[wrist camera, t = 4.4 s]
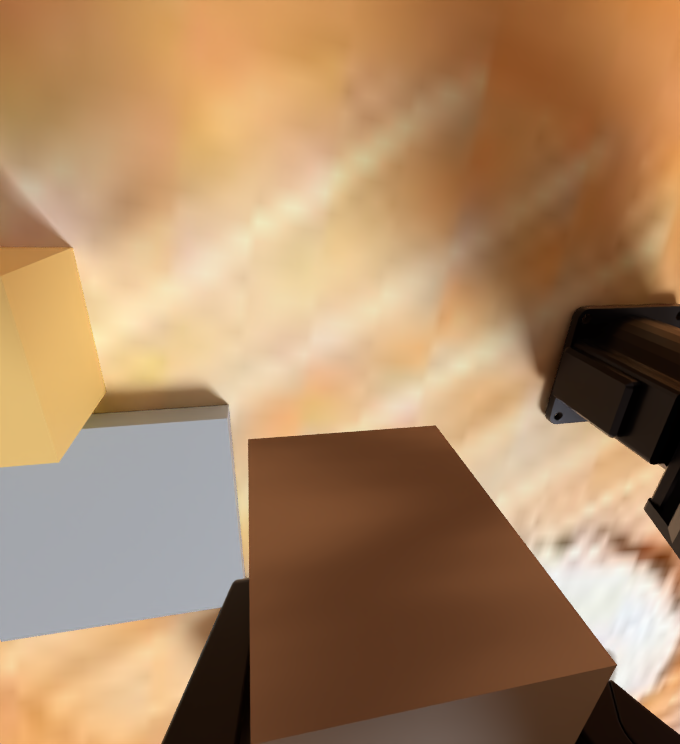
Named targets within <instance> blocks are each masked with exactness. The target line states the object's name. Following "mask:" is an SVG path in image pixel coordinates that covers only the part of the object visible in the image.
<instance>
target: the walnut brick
mask: <svg viewBox="0 0 680 744" xmlns="http://www.w3.org/2000/svg"><path fill="white" fill-rule="evenodd" d="M248 467H249V598H250V728H251V744H575V742H576V740H577V739H578V737H579V735H580V733H581V731H582V729H583V727H584V725H585V724H586V722H587V720H588V718H589V716H590V714H591V712H592V711H593V709H594V707H595V705H596V703H597V701H598V699H599V697H600V696H601V694H602V692H603V690H604V688H605V686H606V684H607V682H608V681H609V679H610V677H611V675H612V673H613V671H614V669H615V668H616V666H617V664H616V663H615V662H614V660H613V659H612V658H611V656H610V655H609V654H608V652H607V651H606V650H605V649H604V647H603V646H602V645H601V643H600V642H599V641H598V639H597V638H596V637H595V635H594V634H593V633H592V631H591V630H590V629H589V627H588V626H587V625H586V623H585V622H584V621H583V619H582V618H581V617H580V616H579V614H578V613H577V612H576V610H575V609H574V608H573V606H572V605H571V604H570V602H569V601H568V600H567V598H566V597H565V596H564V594H563V593H562V592H561V590H560V589H559V588H558V586H557V585H556V584H555V583H554V581H553V580H552V579H551V577H550V576H549V575H548V573H547V572H546V571H545V569H544V568H543V567H542V565H541V564H540V563H539V561H538V560H537V559H536V557H535V556H534V555H533V553H532V552H531V551H530V550H529V548H528V547H527V546H526V544H525V543H524V542H523V540H522V539H521V538H520V536H519V535H518V534H517V532H516V531H515V530H514V528H513V527H512V526H511V524H510V523H509V522H508V520H507V519H506V518H505V516H504V515H503V514H502V513H501V511H500V510H499V509H498V507H497V506H496V505H495V503H494V502H493V501H492V499H491V498H490V497H489V495H488V494H487V493H486V491H485V490H484V489H483V487H482V486H481V485H480V483H479V482H478V481H477V480H476V478H475V477H474V476H473V474H472V473H471V472H470V470H469V469H468V468H467V466H466V465H465V464H464V462H463V461H462V460H461V458H460V457H459V456H458V454H457V453H456V452H455V450H454V449H453V448H452V447H451V445H450V444H449V443H448V441H447V440H446V439H445V437H444V436H443V435H442V433H441V432H440V431H439V429H438V428H437V427H436V426H423V427H410V428H396V429H383V430H369V431H356V432H342V433H329V434H315V435H302V436H288V437H274V438H261V439H248Z"/></svg>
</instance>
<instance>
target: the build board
mask: <svg viewBox="0 0 680 744" xmlns="http://www.w3.org/2000/svg"><path fill="white" fill-rule="evenodd" d="M244 578H245V570H244V560H243V550H242V539H241V529H240V518H239V508H238V498H237V487H236V477H235V466H234V456H233V446H232V435H231V425H230V415H229V405H219V406H204V407H189V408H175V409H160V410H145V411H130V412H116V413H101V414H91V416H90V417H89V419H88V420H87V421H86V423H85V424H84V426H83V427H82V429H81V430H80V432H79V433H78V435H77V436H76V438H75V439H74V441H73V442H72V444H71V445H70V447H69V448H68V450H67V451H66V453H65V454H64V456H63V457H62V459H61V460H60V462H59V463H48V464H36V465H24V466H12V467H0V640H1V642H2V641H9V640H15V639H21V638H28V637H34V636H41V635H47V634H54V633H60V632H66V631H73V630H79V629H86V628H92V627H99V626H105V625H111V624H118V623H124V622H131V621H137V620H144V619H150V618H156V617H163V616H169V615H176V614H182V613H188V612H195V611H201V610H208V609H214V608H221V607H222V605H223V603H224V601H225V598H226V596H227V594H228V592H229V589H230V587H231V585H232V583H233V582H234V581H235V580H237V579H244Z"/></svg>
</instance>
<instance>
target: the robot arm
mask: <svg viewBox="0 0 680 744" xmlns="http://www.w3.org/2000/svg"><path fill="white" fill-rule="evenodd" d="M585 315H586V317H585V318H584V320H582V319H583V317H584V316H585ZM555 414H556V415H555ZM545 416H546V419H548V420H549V421H550V422H551V423H553V424H563V423H574V422H585V421H588V422H590V423H591V424H592V425H594V426H595V427H597V428H598V429H599V430H601V431H602V432H603V433H605V434H606V435H608V436H609V437H611V438H615V439H617V440H618V441H619V442H621V443H622V444H624V445H625V446H626V447H628V448H629V449H630V450H632V451H633V452H635V453H636V454H637V455H639V456H640V457H642V458H643V459H644V460H646V461H647V462H649V463H650V464H653V465H655V464H658V465H660V466H661V467H663V468H664V469H666V470H665V472H664V474H663V476H662V478H661V480H660V482H659V484H658V486H657V488H656V490H655V492H654V494H653V496H652V498H649V499H648V501H647V503H646V505H645V507H644V510H645V512H646V513H647V514H648V516H649V517H650V518H651V520H652V521H653V523H654V524H655V525H656V527H657V528H658V530H659V531H660V532H661V534H662V535H663V536H664V538H665V539H666V541H667V542H668V543H669V545H670V546H671V548H672V549H673V550H674V552H675V553H676V555H677V556H678V557H679V559H680V304H656V305H622V306H588V307H580V308H579V309H577V310H576V311H575V312H574V314H573V316H572V319H571V323H570V327H569V330H568V334H567V338H566V341H565V345H564V348H563V352H562V356H561V359H560V363H559V367H558V370H557V374H556V377H555V381H554V385H553V388H552V392H551V396H550V399H549V403H548V406H547V410H546V415H545ZM161 744H251V728H250V598H249V578H244V579H237V580H235V581H234V582H233V583H232V585H231V587H230V589H229V592H228V594H227V596H226V598H225V601H224V603H223V605H222V607H221V610H220V612H219V614H218V616H217V619H216V621H215V623H214V625H213V628H212V630H211V632H210V635H209V637H208V639H207V641H206V644H205V646H204V648H203V650H202V653H201V655H200V657H199V659H198V662H197V664H196V666H195V669H194V671H193V673H192V675H191V678H190V680H189V682H188V684H187V687H186V689H185V691H184V693H183V696H182V698H181V700H180V703H179V705H178V707H177V709H176V712H175V714H174V716H173V718H172V721H171V723H170V725H169V727H168V730H167V732H166V734H165V736H164V739H163V741H162V743H161ZM575 744H680V734H678V733H677V732H676V731H674V730H673V729H672V728H670V727H669V726H668V725H666V724H665V723H664V722H663V721H661V720H660V719H659V718H658V717H656V716H655V715H654V714H653V713H651V712H650V711H649V710H648V709H646V708H645V707H644V706H643V705H641V704H640V703H639V702H638V701H636V700H635V699H634V698H633V697H632V696H630V695H629V694H628V693H627V692H626V691H624V690H623V689H622V688H621V687H620V686H618V685H617V684H616V683H615V682H614V681H612V680H610V681H608V682H607V684H606V686H605V688H604V690H603V692H602V694H601V696H600V697H599V699H598V701H597V703H596V705H595V707H594V709H593V711H592V712H591V714H590V716H589V718H588V720H587V722H586V724H585V725H584V727H583V729H582V731H581V733H580V735H579V737H578V739H577V740H576V742H575Z"/></svg>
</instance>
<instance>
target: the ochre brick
mask: <svg viewBox="0 0 680 744" xmlns="http://www.w3.org/2000/svg"><path fill="white" fill-rule="evenodd" d="M105 393H106V389H105V385H104V380H103V376H102V372H101V368H100V363H99V359H98V355H97V350H96V346H95V342H94V338H93V333H92V329H91V325H90V320H89V316H88V312H87V308H86V303H85V299H84V295H83V290H82V286H81V282H80V278H79V273H78V269H77V265H76V260H75V256H74V252H73V248H66V247H0V467H12V466H24V465H36V464H48V463H59V462H60V460H61V459H62V457H63V456H64V454H65V453H66V451H67V450H68V448H69V447H70V445H71V444H72V442H73V441H74V439H75V438H76V436H77V435H78V433H79V432H80V430H81V429H82V427H83V426H84V424H85V423H86V421H87V420H88V419H89V417H90V416H91V414H92V413H93V411H94V410H95V408H96V407H97V405H98V404H99V402H100V401H101V399H102V398H103V396H104V395H105Z"/></svg>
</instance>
